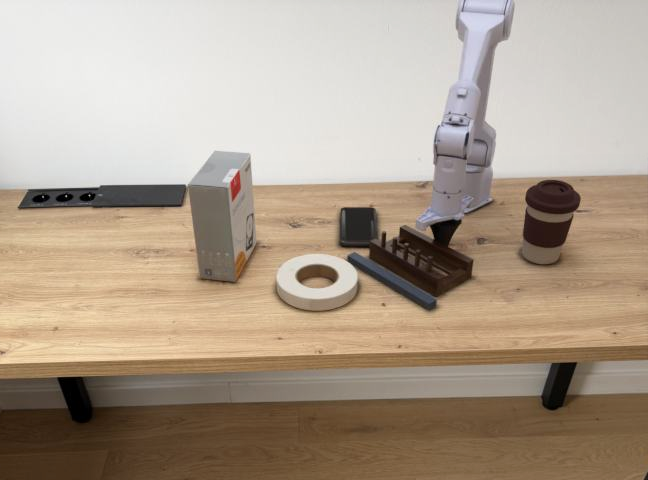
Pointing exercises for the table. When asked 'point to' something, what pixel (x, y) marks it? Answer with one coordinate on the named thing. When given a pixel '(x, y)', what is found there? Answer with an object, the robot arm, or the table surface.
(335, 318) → the table surface
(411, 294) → the rail
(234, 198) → the hard drive box
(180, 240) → the table surface
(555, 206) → the coffee cup
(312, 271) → the tape roll
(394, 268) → the rack
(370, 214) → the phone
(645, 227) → the table surface
